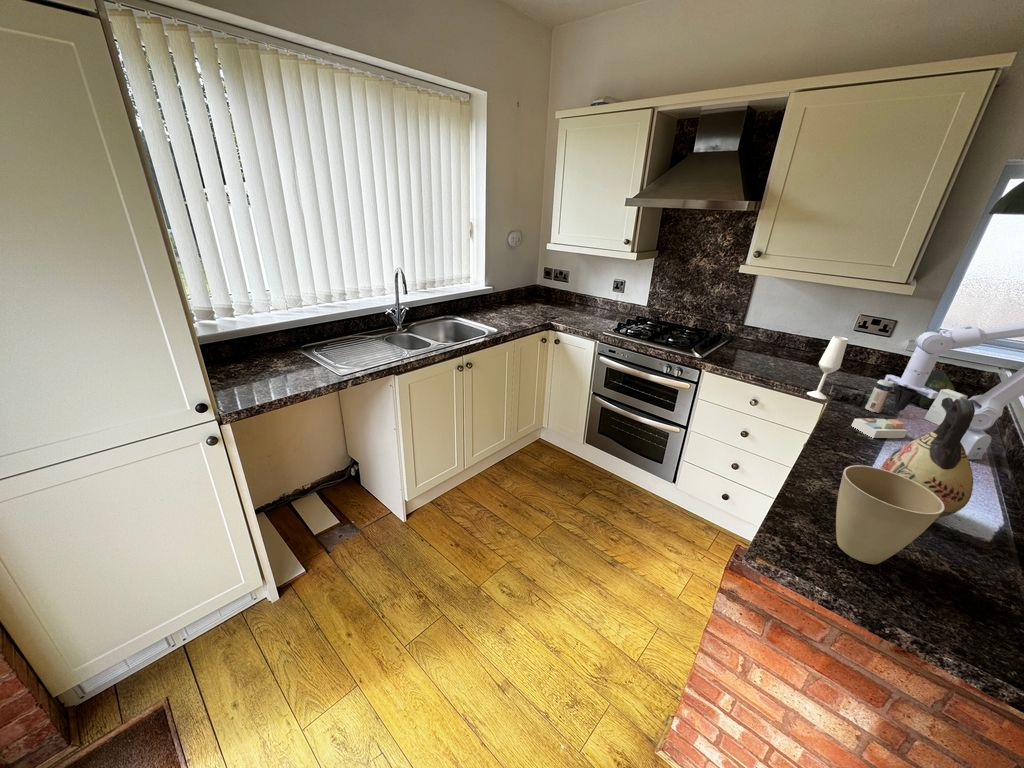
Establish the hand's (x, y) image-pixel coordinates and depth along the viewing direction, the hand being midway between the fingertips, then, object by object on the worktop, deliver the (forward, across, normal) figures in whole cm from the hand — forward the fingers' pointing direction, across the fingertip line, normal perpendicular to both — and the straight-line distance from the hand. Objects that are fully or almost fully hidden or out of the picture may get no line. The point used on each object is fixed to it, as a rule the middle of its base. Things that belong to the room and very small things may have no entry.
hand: (898, 409), depth 133 cm
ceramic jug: (+9, +35, -36) cm, 51 cm away
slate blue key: (+8, 0, -6) cm, 10 cm away
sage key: (+7, 0, -2) cm, 7 cm away
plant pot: (+9, +46, -62) cm, 77 cm away
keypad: (+9, -1, -2) cm, 10 cm away
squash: (+10, -23, +44) cm, 50 cm away
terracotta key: (+7, 0, +2) cm, 7 cm away
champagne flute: (+9, -30, +2) cm, 32 cm away
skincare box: (+10, -8, +32) cm, 34 cm away
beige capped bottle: (+10, -17, +14) cm, 24 cm away
